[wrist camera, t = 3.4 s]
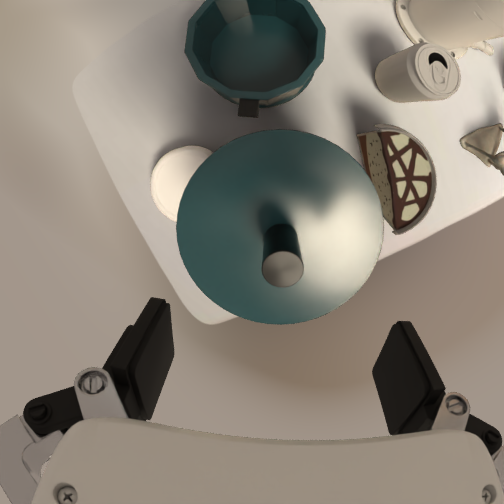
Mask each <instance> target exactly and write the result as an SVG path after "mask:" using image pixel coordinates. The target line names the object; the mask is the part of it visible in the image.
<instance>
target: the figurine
mask: <svg viewBox="0 0 504 504" xmlns="http://www.w3.org/2000/svg"><path fill="white" fill-rule="evenodd" d="M502 132H504V128H503V126H502V124H496V125H493V126H489V127H485V128H481V129H478V130H475V131H474V132H472V133H470V134H468V135H466V136H464V137H463V138H461V139H460V143H461V146H462V147H463V148H464V149H466V150H468V151H469V152H471V153H473V154H474V155H476V156H477V157H478V158H479V159H480V160H481V161H482V162H483V163H484V164H485V165H487V166H488V167H490V166H491V165H493V166H494V167H495V168H496V169H498V170H500V171H501V173H502V175H504V151H503V152H500V153H498V154H496V152H497V150H498V147H499V144H500V140H501V137H502ZM495 154H496V155H495Z"/></svg>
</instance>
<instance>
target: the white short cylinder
mask: <svg viewBox="0 0 504 504" xmlns="http://www.w3.org/2000/svg"><path fill="white" fill-rule="evenodd" d="M212 153H213V152H211V151H210V150H208V149H206V148H203V147H200V146H184V147H181V148H177V149H174V150H172V151H170V152H168V153H167V154H165V155H164V156H163V157H162V158H161V159H160V160H159V161H158V162H157V164H156V165H155V167H154V169H153V172H152V175H151V180H150V189H151V194H152V198H153V200H154V202H155V204H156V206H157V207H158V209H159V210H160V211H161V212H162V213H163V214H164V215H165V216H166V217H168V218H169V219H171V220H173V221H175V222H177V213H178V208H179V204H180V200H181V197H182V195H183V192H184V189H185V187H186V186H187V184H188V182H189V180H190V178H191V177H192V175H193V174H194V173H195V171H196V170H197V168H198V167H199V166H200V165H201V164H202V163H203V162H204V161H205V160H206V159H207V158H208V157H209V156H210V155H211V154H212Z"/></svg>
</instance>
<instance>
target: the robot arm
mask: <svg viewBox="0 0 504 504" xmlns="http://www.w3.org/2000/svg"><path fill="white" fill-rule="evenodd" d="M396 13H397V17H398V20H399V23H400V25H401V27H402V28H403V30H404V32H405V33H406V34H407V36H408V37H409V38H410V40H411V41H412V42H413V43H414V44H418V43H422V42H426V43H432V44H437V45H440V46H442V47H443V48H445V49H446V50H447V51H448V52H449V53H450V54H451V55H452V56H453V57H454V59H459V58H460V57H462V56H463V55H464V54H465V53H466V52H467V50H468V47H472V48H474V49H476V48H478V49H480V50H481V51H482V52H484V53H486V54H487V55H489V56H491V55H492V54H493V52H494V49H493V47H492V46H491V45H490V44H488V43H487V42H485V40H490V39H494V38H499V37H503V36H504V0H397V1H396ZM173 358H174V344H173V335H172V323H171V312H170V304H169V303H166V301H165V299H160V298H153V297H152V298H150V300H149V302H148V303H147V305H146V306H145V308H144V309H143V311H142V313H141V314H140V316H139V318H138V319H137V321H136V323H135V324H134V326H133V325H129V326H128V327H127V328H126V330H125V331H124V333H123V335H122V336H121V338H120V339H119V341H118V343H117V344H116V346H115V348H114V349H113V351H112V353H111V354H110V356H109V358H108V359H107V361H106V363H105V364H104V366H103V368H102V369H101V368H97V367H92V368H87V369H85V370H83V371H81V372H80V373H79V374H78V375H77V376H76V378H75V381H74V386H73V387H69V388H66V389H64V390H60V391H57V392H54V393H51V394H48V395H44V396H41V397H38V398H35V399H33V400H31V401H29V402H28V403H27V404H26V406H25V408H24V411H23V415H22V416H20V417H19V416H18V415H16V416H14V417H13V418H11V419H10V420H8V421H6V422H5V423H3V424H2V425H1V426H0V485H1V487H2V488H3V490H4V492H5V493H6V495H7V497H8V498H9V500H10V502H11V503H12V504H504V445H503V446H502V438H501V434H500V433H499V431H498V430H497V429H496V428H494V427H493V426H491V425H489V424H487V423H485V422H484V421H482V420H480V419H478V418H476V417H475V416H473V415H471V414H469V413H470V405H469V402H468V400H467V399H466V398H465V397H464V396H463V395H461V394H459V393H457V392H450V393H447V394H446V393H445V391H444V390H445V386H444V384H443V382H442V380H441V378H440V376H439V374H438V372H437V370H436V368H435V366H434V364H433V362H432V360H431V358H430V356H429V354H428V352H427V350H426V349H425V347H424V345H423V343H422V341H421V339H420V337H419V336H418V334H417V332H416V330H415V328H414V327H413V325H412V323H411V322H410V321H398V322H397V323H396V324H394V325H393V326H392V328H391V330H390V332H389V335H388V337H387V339H386V341H385V344H384V346H383V348H382V350H381V352H380V355H379V357H378V359H377V361H376V363H375V365H374V367H373V371H372V374H373V378H374V381H375V384H376V388H377V391H378V395H379V398H380V401H381V405H382V408H383V412H384V415H385V419H386V423H387V427H388V430H389V433H390V435H392V436H384V437H373V438H362V439H346V440H277V439H260V438H248V437H239V436H230V435H222V434H214V433H208V432H201V431H195V430H189V429H183V428H177V427H172V426H167V425H162V424H158V423H152V422H147V421H146V420H150V419H151V418H152V415H153V412H154V409H155V407H156V404H157V401H158V398H159V396H160V393H161V390H162V387H163V385H164V382H165V379H166V377H167V374H168V371H169V369H170V366H171V363H172V361H173ZM50 455H51V457H50V458H49V456H50ZM48 460H49V462H48V464H47V466H46V468H45V470H44V473H43V475H42V477H41V474H40V470H41V467H42V465H43V464H44V463H45V462H46V461H48Z"/></svg>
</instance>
